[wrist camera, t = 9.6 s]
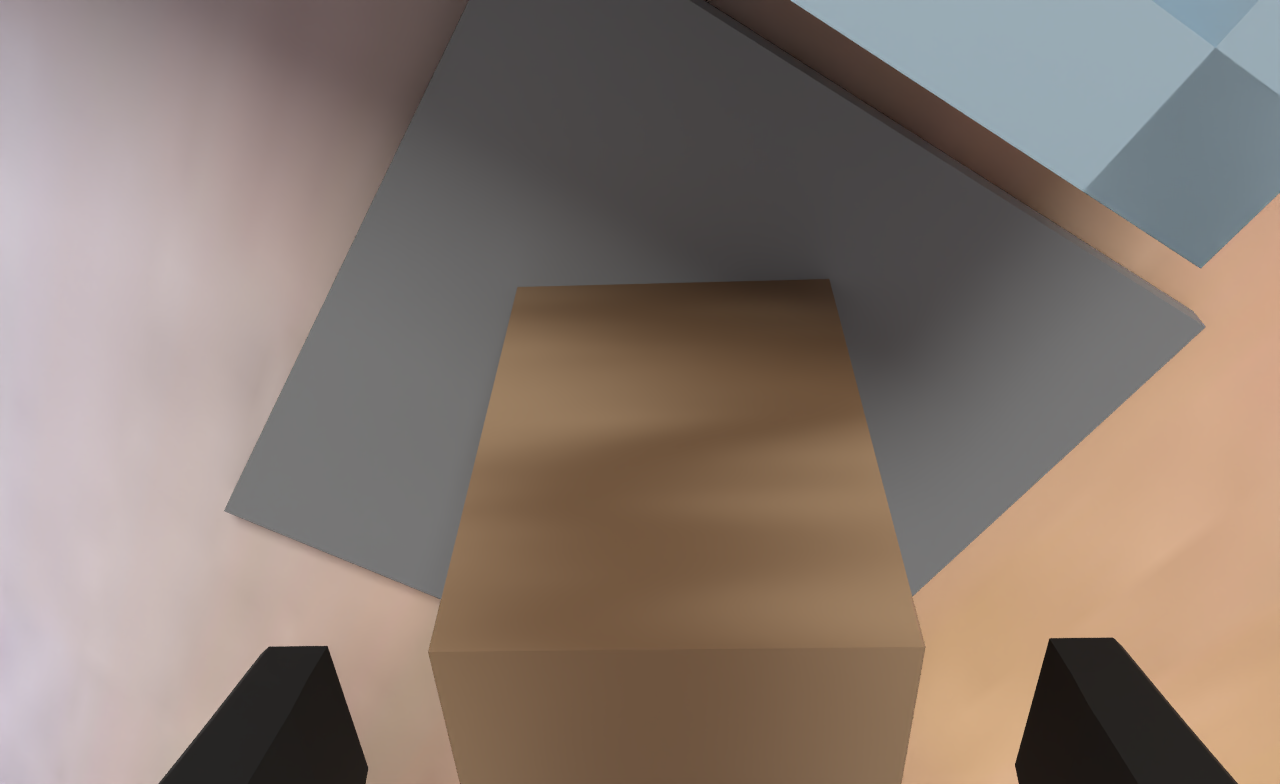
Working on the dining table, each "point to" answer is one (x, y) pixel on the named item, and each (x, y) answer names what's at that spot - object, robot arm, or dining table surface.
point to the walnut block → (677, 550)
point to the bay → (1107, 96)
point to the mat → (687, 276)
